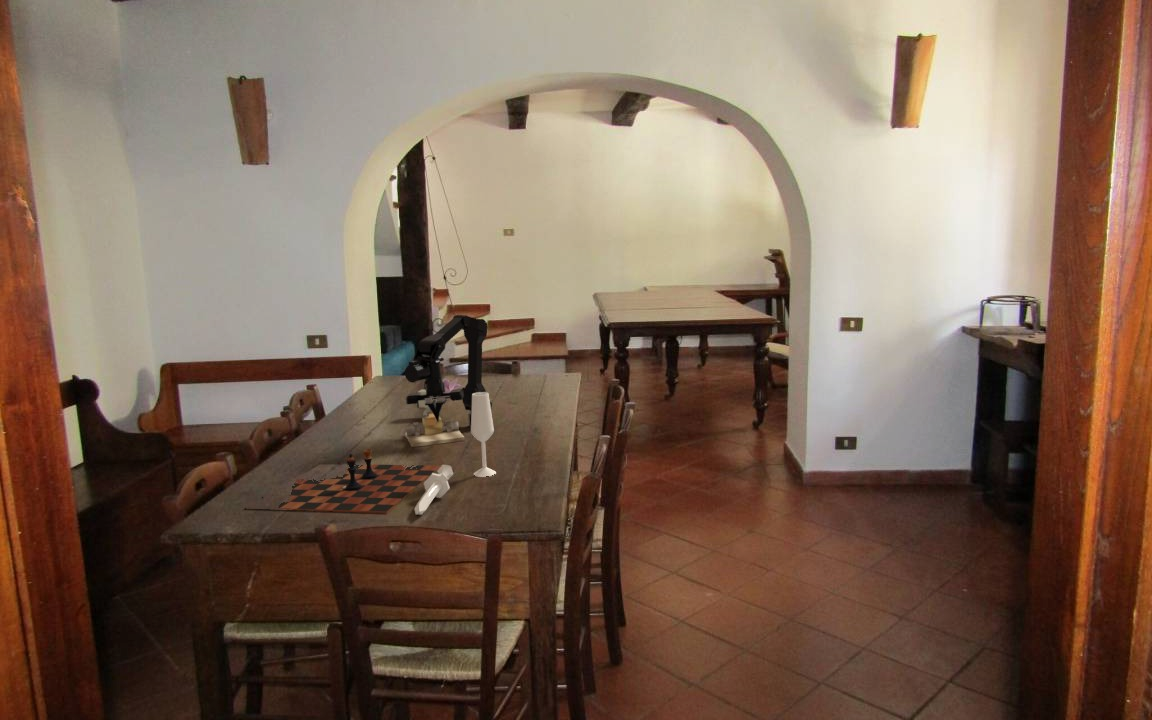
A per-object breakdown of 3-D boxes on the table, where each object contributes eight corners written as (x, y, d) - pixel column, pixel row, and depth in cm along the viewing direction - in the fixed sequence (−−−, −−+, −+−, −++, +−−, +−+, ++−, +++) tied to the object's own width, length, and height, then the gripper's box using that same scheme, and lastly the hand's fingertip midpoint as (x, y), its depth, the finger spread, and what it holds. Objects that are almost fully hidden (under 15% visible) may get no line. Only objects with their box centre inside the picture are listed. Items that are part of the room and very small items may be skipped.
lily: (466, 398, 334) (458, 379, 336) (466, 393, 323) (457, 373, 324) (441, 409, 332) (432, 389, 333) (439, 404, 320) (430, 384, 322)
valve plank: (455, 429, 277) (454, 411, 276) (464, 440, 262) (463, 421, 261) (405, 435, 271) (404, 417, 270) (411, 447, 256) (410, 427, 255)
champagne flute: (486, 478, 221) (482, 397, 217) (468, 475, 224) (463, 395, 220) (500, 471, 226) (496, 392, 222) (483, 468, 230) (478, 390, 226)
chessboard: (386, 515, 195) (383, 473, 194) (245, 510, 203) (240, 470, 201) (441, 468, 234) (438, 434, 233) (320, 466, 241) (317, 432, 240)
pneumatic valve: (443, 419, 293) (441, 388, 291) (414, 419, 295) (412, 389, 293) (448, 415, 299) (446, 385, 297) (419, 416, 300) (417, 386, 298)
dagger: (432, 516, 189) (466, 465, 215) (414, 500, 188) (449, 451, 214) (414, 534, 192) (449, 482, 218) (395, 518, 191) (433, 468, 217)
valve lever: (436, 415, 270) (436, 410, 270) (436, 424, 257) (436, 419, 257) (427, 416, 270) (426, 411, 269) (426, 425, 256) (426, 420, 256)
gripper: (463, 369, 265) (468, 413, 268) (410, 374, 265) (415, 417, 268) (459, 375, 254) (464, 421, 257) (403, 380, 254) (408, 425, 257)
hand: (438, 421), depth 260 cm, fingers closed
